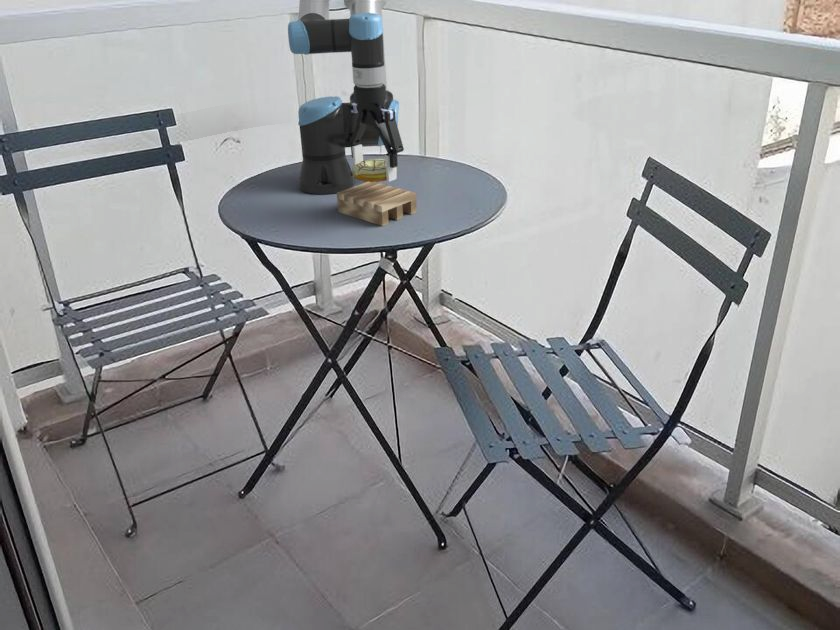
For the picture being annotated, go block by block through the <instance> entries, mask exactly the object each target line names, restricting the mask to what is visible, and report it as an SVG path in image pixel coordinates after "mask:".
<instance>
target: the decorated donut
mask: <svg viewBox="0 0 840 630" xmlns="http://www.w3.org/2000/svg"><path fill="white" fill-rule="evenodd" d="M397 172H398V166H397V167H396V173H397ZM352 173H353V176H354V179H356V180H358V181H362V182H363V183H366V182H378V183H381V182H385V181H386V182H387V177H386V159H385V158H370V159H366V160H363V161H361V162H360V163H358V164H356V165H355V166H354V165H353V167H352Z"/></svg>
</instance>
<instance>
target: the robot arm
mask: <svg viewBox="0 0 840 630" xmlns="http://www.w3.org/2000/svg"><path fill="white" fill-rule="evenodd" d="M343 3H344V4H343V5H344V7H345V8H347V10H349V11H350V15H349V16H350V17H349V18H337V19H336V18H333V19H331V18H330V0H299V7H298V17H297V20H294V21H293V20H292V21H290V22H288V25H287V37H288V39H287V40H288V44H289V51H290V52H291V53H292V54H294V55H315V54H331V53H332V54H333V53H334V54H335V53H336V54H337V53H351V69H352V80H353V81H352V82H353V84H354V85H353V92H352V93H351V94H350V95H349V102H343V99H341V97H339V96H330V95H329V96H324V97H319V98H314V99H312V100H308V101H306V102H304V103H303V104H302V105H300V106H299V109H298V111H297V112H298V126H299V133H300V143H301V145H300V146H301V155H302V162H301V168H300V173H299V177H298V187H299V190H300V189H301V190H300V191H302V192H304V193H306V194H313V195H329V194H337V193H338V192H341V191H344V190H346V189H349V188H352V187H354V186H355V178H354V174H353V170H352V169H351V166H350V163H349V161H348V159H347V155H346V148H350V153H351V158H352V161H353V162H352V163H353V167H354V166H355V165H356V164H358V163H360V162H361V161H364V152H363V147H381V146H383V147H384V148H385V151H386V152H387V153H386V154H385V155H384V159H386V177H387V180H386V182H392V181H394V180H397V178H398V176H397V174H398V173H397V172H396V167H397V168H398V153H403V152H404V151H405V149H404V144H403V141H402V137H401V134H400V130H399V128H398V127H399V126H398V125H399V124H398V123H399V109H400V102H399V100H397V99H394V94H393V92H392V91H390V89H388V88H387V87H388V86H387V85H388V84H387V72H386V71H387V69H386V58H385V57H386V54H385V43H384V41H385V40H384V27H383V25H384V24H383V12H382V10H383V8H384V7H385V6H386V5H387V0H343Z"/></svg>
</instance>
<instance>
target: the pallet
mask: <svg viewBox="0 0 840 630" xmlns="http://www.w3.org/2000/svg"><path fill="white" fill-rule="evenodd" d="M336 201H337V203H336V204H337V212H338V213H340V214H343V215H346V216H349V217H352V218H357V219H360V220H363V221H366V222H369V223H372V224H375V225H378V226H382V227H384V226H386V225H389V224H390V222H389V219H392V220H395V221H398V220H402V219H404V213H405V214H408V215H413V214H416V213H418V206H417V202H418V201H417V192H413V191H409V190H406V189H403V188H398V187H395V186H391V185H388V184H386V183H382V182H375V181H374V182H369V181H368V182H363V183H361V184H358V185H354V186H353V187H351V188H349V189H346V190H344V191H341V192H337V193H336Z"/></svg>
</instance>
